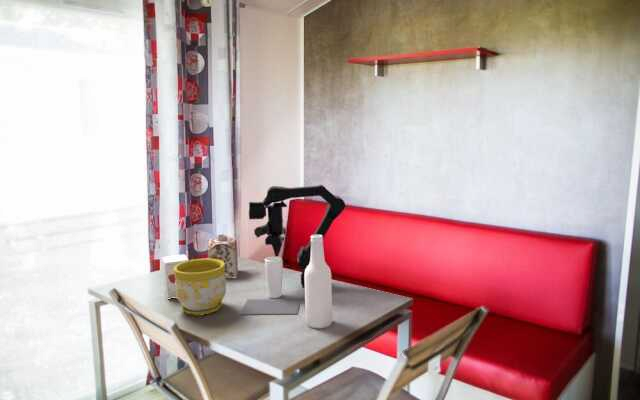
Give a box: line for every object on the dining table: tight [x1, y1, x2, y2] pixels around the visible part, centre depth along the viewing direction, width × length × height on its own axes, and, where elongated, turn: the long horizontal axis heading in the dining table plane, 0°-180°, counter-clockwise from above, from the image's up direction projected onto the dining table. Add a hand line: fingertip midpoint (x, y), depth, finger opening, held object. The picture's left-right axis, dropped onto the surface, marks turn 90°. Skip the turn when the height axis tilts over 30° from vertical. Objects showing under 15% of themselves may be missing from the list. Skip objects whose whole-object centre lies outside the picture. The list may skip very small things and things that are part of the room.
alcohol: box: [304, 234, 333, 330], centre depth 161 cm, size 9×9×30 cm
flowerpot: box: [174, 258, 227, 316], centre depth 177 cm, size 18×18×16 cm
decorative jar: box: [207, 233, 239, 279], centre depth 216 cm, size 12×12×18 cm
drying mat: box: [239, 298, 301, 316], centre depth 179 cm, size 20×14×1 cm
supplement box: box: [161, 253, 189, 299], centre depth 193 cm, size 9×9×15 cm
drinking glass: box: [264, 255, 284, 299], centre depth 188 cm, size 7×7×15 cm
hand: (276, 256), depth 197 cm, fingers closed
